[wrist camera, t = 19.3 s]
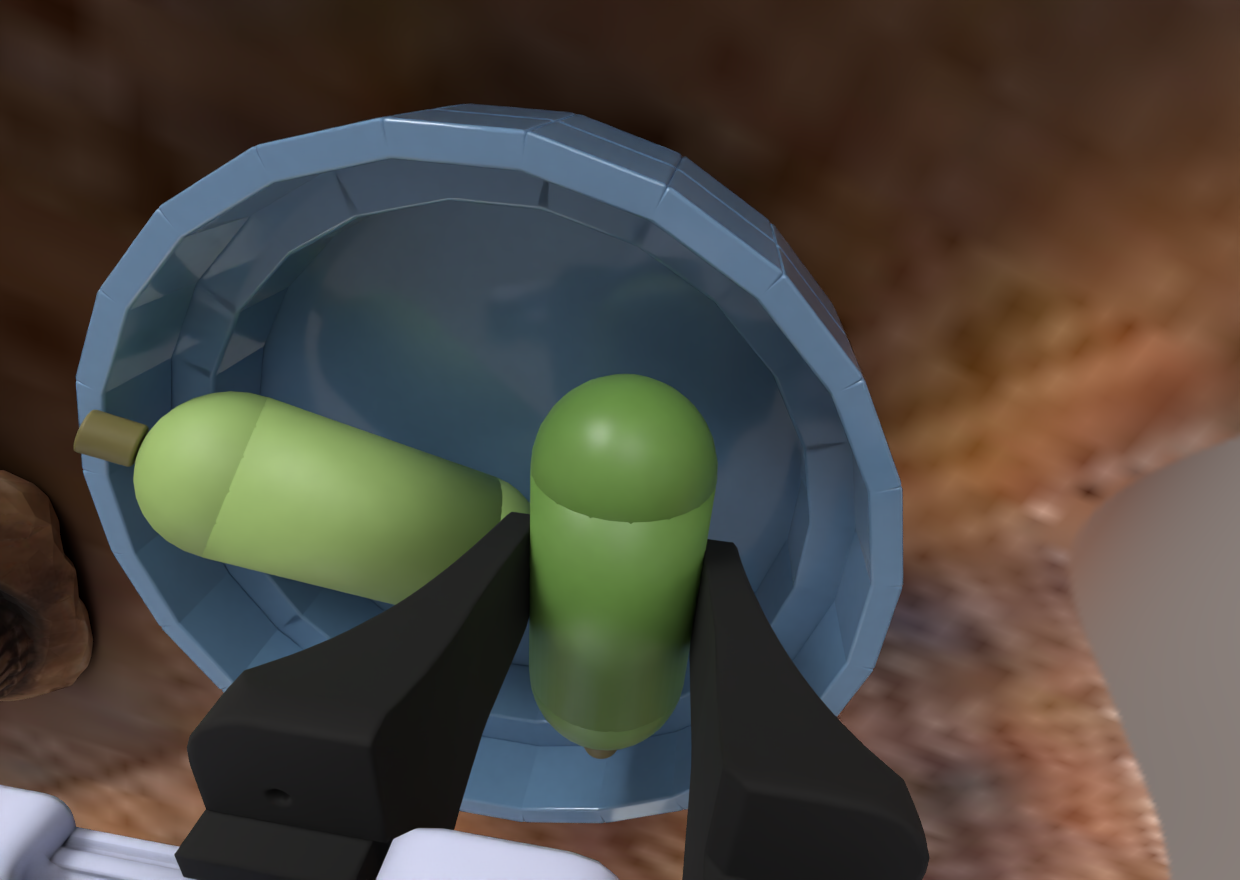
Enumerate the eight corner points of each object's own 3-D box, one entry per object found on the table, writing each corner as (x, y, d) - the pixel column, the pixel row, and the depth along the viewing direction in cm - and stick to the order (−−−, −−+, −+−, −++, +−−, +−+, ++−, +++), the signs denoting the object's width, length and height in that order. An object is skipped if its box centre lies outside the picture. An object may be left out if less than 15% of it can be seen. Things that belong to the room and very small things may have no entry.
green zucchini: (676, 698, 19) (666, 825, 16) (546, 678, 19) (511, 798, 16) (730, 356, 14) (730, 443, 11) (555, 336, 14) (506, 414, 11)
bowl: (790, 729, 22) (803, 873, 18) (277, 646, 24) (187, 762, 20) (955, 143, 14) (1047, 177, 10) (142, 72, 15) (-63, 77, 11)
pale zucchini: (562, 471, 19) (575, 574, 16) (501, 555, 20) (503, 663, 17) (138, 313, 14) (51, 418, 11) (105, 437, 16) (24, 555, 13)
